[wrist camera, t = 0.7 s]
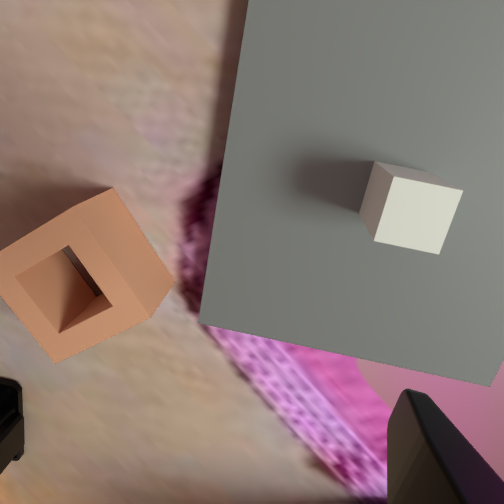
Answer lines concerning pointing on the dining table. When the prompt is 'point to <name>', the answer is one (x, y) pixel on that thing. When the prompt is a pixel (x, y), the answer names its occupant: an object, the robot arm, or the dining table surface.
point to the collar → (74, 286)
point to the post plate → (366, 184)
